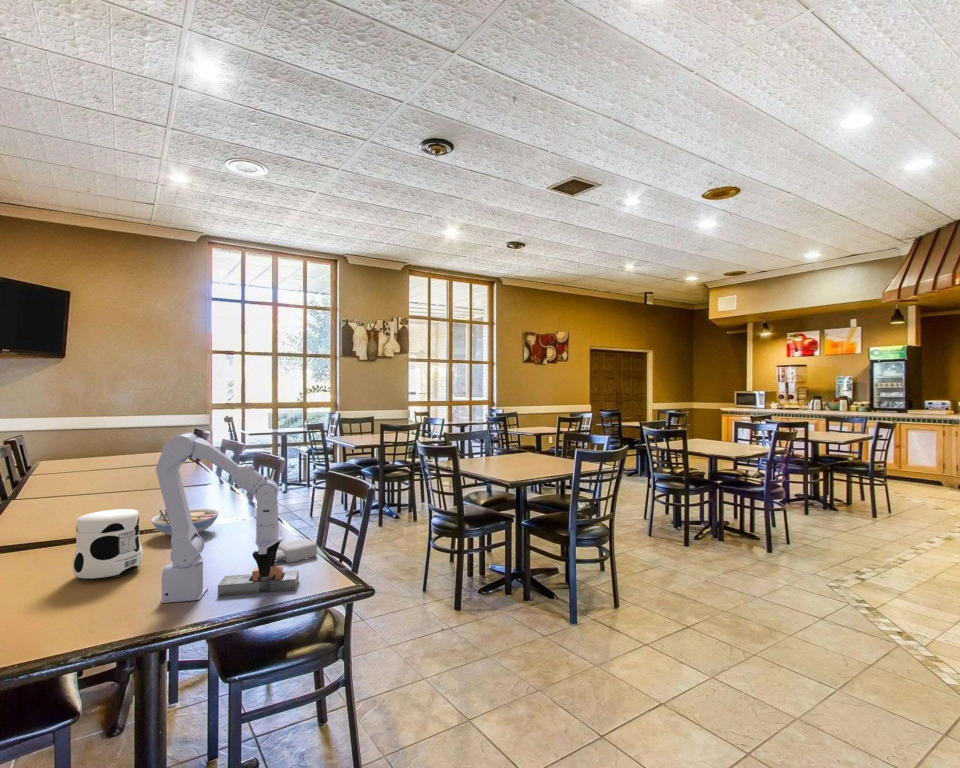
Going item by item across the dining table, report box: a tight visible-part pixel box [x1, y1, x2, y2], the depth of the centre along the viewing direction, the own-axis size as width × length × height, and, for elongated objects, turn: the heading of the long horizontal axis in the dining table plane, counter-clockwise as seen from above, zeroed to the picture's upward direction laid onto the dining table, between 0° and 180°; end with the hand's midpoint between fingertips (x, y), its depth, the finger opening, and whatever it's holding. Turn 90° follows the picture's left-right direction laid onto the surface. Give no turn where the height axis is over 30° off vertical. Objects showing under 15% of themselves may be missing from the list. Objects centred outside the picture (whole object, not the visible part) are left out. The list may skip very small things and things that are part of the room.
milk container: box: [71, 508, 144, 581], centre depth 157 cm, size 17×17×18 cm
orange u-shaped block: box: [251, 565, 284, 581], centre depth 146 cm, size 8×3×6 cm, turn 102°
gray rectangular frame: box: [217, 570, 300, 597], centre depth 146 cm, size 20×7×3 cm, turn 102°
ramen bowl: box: [150, 508, 220, 537], centre depth 198 cm, size 25×23×8 cm
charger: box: [275, 538, 318, 563], centre depth 171 cm, size 5×9×15 cm
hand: (267, 571), depth 147 cm, fingers open, 7 cm apart
